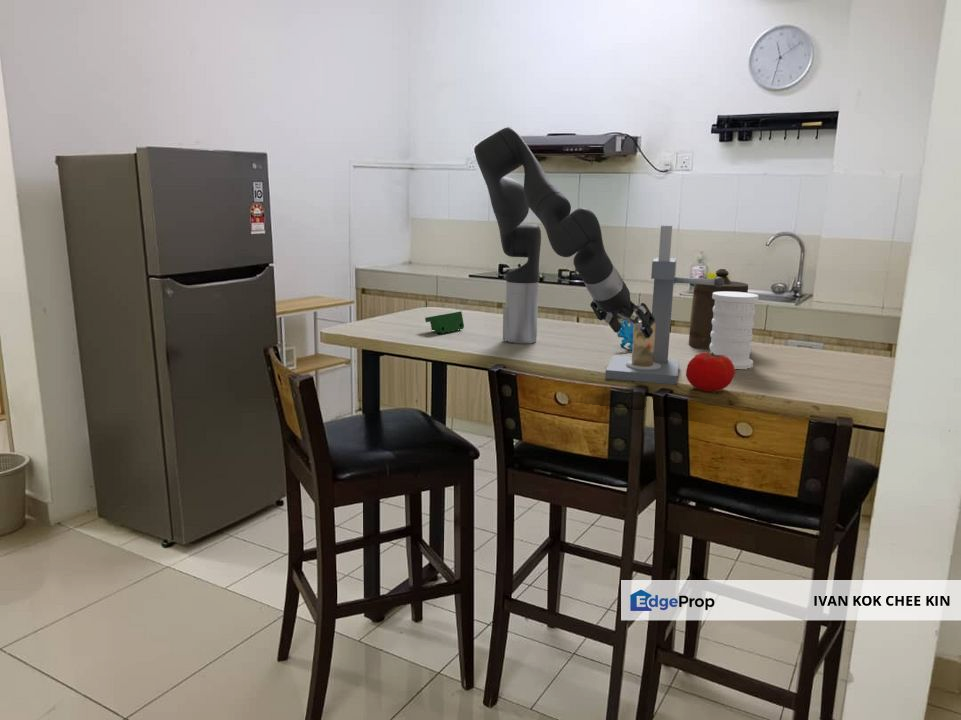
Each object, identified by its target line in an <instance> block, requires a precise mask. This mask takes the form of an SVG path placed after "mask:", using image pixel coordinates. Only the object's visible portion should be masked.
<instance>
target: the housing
mask: <svg viewBox="0 0 961 720" xmlns="http://www.w3.org/2000/svg"><path fill="white" fill-rule="evenodd" d="M638 321H639V322H640V323H642V321H641V320H638ZM651 328H652V330H653V333H652V335H651V336H650V338H649V339H648V338H645V337H644V335H643V333H642V331H641V330H640V328H639V327H638V326H637V325H635V324H634V333H633V348H632V349H631V350H632V351H631V357H632V365H635V366H641V367H649V366H653V359H654V344H655V330H656V323H655V322H653V324H652V326H651Z"/></svg>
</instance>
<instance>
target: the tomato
mask: <svg viewBox="0 0 961 720" xmlns="http://www.w3.org/2000/svg"><path fill="white" fill-rule="evenodd" d="M698 352H700V353H699V354H695V355H694V357H693V358H691V360H690V361H689V362H688V364H687V365H686V366H687V367H686V371H685V377H686V380H687V381H688V382H689V384H690V385H691V386H692V387H693V388H696V389H697V390H699V391H703V392H710V393H711V392H719V391H721V390H723V389H725V388H727V387H728V386H729V385H730V384H732V381H733V379H734V378H735V373H736V370H735V369H734V365H733V363H732V361H731V360H730V359H729V358H728V357H726V356H724V355H715V354H714V353H713V352H712V353H710V352H706V351H705V352H702V351H698Z"/></svg>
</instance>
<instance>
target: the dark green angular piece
mask: <svg viewBox="0 0 961 720" xmlns="http://www.w3.org/2000/svg"><path fill="white" fill-rule="evenodd" d="M424 321H425V323H430V328H431V331H432V330H435V331H434V332H435V334H437V333H442V334H446V333H445V332H448V333H451V332H450V331H453V332H455V331H454V330H458V329H462V330H464V327H465V323H464V319H463V312H462V311H456V312H450V313H443V314H438V315H433V316H427V317H424ZM458 331H459V330H458Z"/></svg>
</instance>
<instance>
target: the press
mask: <svg viewBox="0 0 961 720" xmlns="http://www.w3.org/2000/svg"><path fill="white" fill-rule="evenodd" d="M672 233H673V225H670V224H669V225H668V224H661V225H660V234H659V249H658V257H655V258H653V260H652V263H651V273H650V275H651V277H650V279H652V280H653V290H652V306H651V314H652V315H653V317H654V318H655V321H654V322H655V323H656V330H655V344H654V359H653V366H649V367H641V366H635V365H632V356H628V355H618V354H617V355H613V357H612V358H611V360H610V362H609V364H608V365H607V367H606V369H605V377H604V378H605V379H608V380H620V381H630V382H631V381H632V382H641V383H644V382H645V383H655V384H665V385H677V384H676V383H678V377H677V376H678V375H679V371H678V370H679V369H680V359H669V351H670V348H669V347H670V335H671V322H672V309H673V296H674V295H673V294H674V285H675V284H686V285H687V284H688V285H689V284H690V285H694V284H706V285H715V286H716V287H721V286H723V284H724V280H723V278H721V277H717V278H715V277H714V278H715V279H714V278H705V277H704V278H703V277H702V278H700V277H682V276H681V277H680V276H679V277H678V276H676V271H677V269H676V267H677V258H675V257H671V247H672V237H673V234H672Z"/></svg>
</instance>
